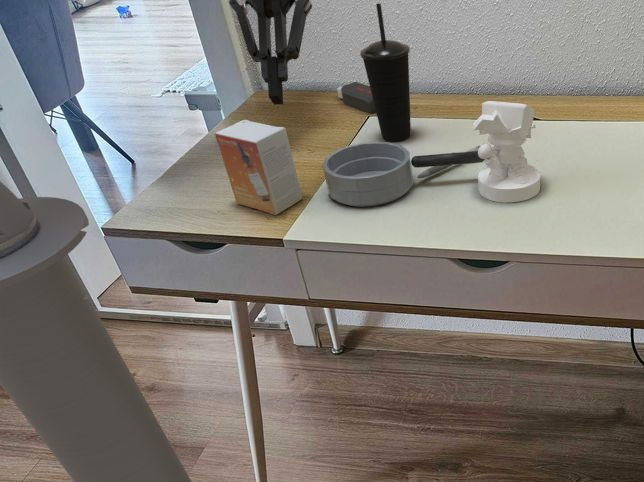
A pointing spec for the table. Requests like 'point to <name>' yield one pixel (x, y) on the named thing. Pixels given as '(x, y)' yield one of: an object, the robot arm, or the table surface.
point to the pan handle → (446, 159)
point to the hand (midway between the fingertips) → (276, 100)
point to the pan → (368, 173)
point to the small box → (259, 166)
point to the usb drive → (357, 96)
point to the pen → (439, 167)
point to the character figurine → (506, 153)
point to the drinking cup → (389, 84)
